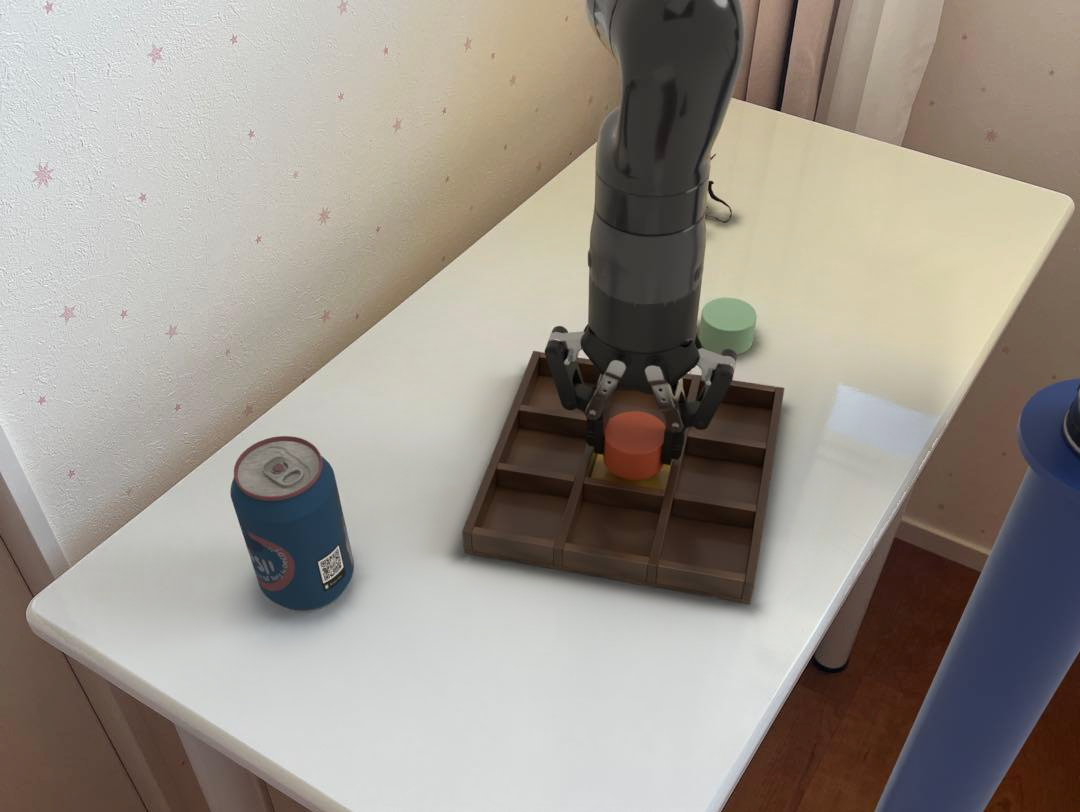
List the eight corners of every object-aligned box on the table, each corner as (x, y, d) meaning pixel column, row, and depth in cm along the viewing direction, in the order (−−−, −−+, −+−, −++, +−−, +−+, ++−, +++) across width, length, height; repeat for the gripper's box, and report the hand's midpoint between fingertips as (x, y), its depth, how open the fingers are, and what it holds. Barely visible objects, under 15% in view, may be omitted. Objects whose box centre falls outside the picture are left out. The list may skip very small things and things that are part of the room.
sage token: (755, 326, 100) (759, 301, 98) (749, 359, 97) (753, 334, 95) (702, 319, 101) (705, 294, 99) (695, 351, 98) (698, 326, 96)
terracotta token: (669, 442, 87) (671, 416, 85) (659, 484, 84) (661, 458, 82) (609, 433, 88) (610, 407, 86) (597, 474, 85) (598, 448, 83)
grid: (780, 409, 93) (784, 387, 91) (750, 604, 79) (754, 583, 77) (533, 372, 96) (533, 350, 95) (464, 552, 83) (461, 531, 81)
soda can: (241, 586, 81) (201, 470, 72) (312, 532, 84) (283, 415, 75) (305, 635, 78) (272, 520, 69) (376, 576, 81) (353, 460, 72)
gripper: (761, 247, 74) (732, 433, 87) (553, 222, 77) (555, 407, 89) (747, 314, 69) (719, 501, 82) (527, 285, 72) (532, 471, 85)
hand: (633, 451), depth 86 cm, fingers closed on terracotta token, 4 cm apart
